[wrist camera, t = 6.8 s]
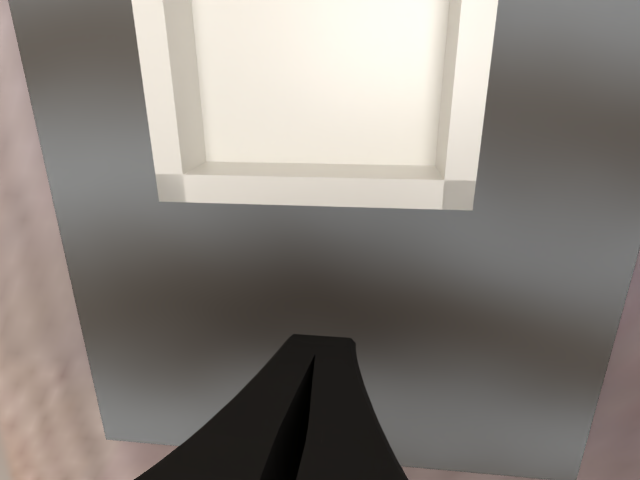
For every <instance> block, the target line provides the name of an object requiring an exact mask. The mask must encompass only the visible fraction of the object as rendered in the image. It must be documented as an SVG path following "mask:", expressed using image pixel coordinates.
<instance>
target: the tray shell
mask: <svg viewBox="0 0 640 480" xmlns="http://www.w3.org/2000/svg"><path fill="white" fill-rule="evenodd" d="M131 1H132V8H133V16H134V23H135V30H136V37H137V45H138V52H139V59H140V67H141V74H142V81H143V88H144V96H145V103H146V110H147V117H148V125H149V132H150V139H151V147H152V154H153V161H154V168H155V176H156V183H157V190H158V198H159V202H190V203H225V204H261V205H296V206H332V207H367V208H402V209H438V210H473V202H474V194H475V186H476V178H477V170H478V162H479V154H480V145H481V137H482V129H483V121H484V113H485V105H486V97H487V88H488V80H489V72H490V64H491V56H492V48H493V40H494V32H495V23H496V15H497V7H498V0H131Z"/></svg>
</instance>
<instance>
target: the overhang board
mask: <svg viewBox="0 0 640 480" xmlns="http://www.w3.org/2000/svg"><path fill="white" fill-rule="evenodd" d="M8 2H9V6H10V11H11V15H12V20H13V24H14V28H15V33H16V37H17V42H18V46H19V51H20V55H21V60H22V64H23V69H24V73H25V78H26V82H27V87H28V91H29V96H30V100H31V105H32V109H33V114H34V118H35V123H36V127H37V132H38V136H39V141H40V145H41V150H42V154H43V158H44V163H45V167H46V172H47V176H48V181H49V185H50V190H51V194H52V199H53V203H54V208H55V212H56V217H57V221H58V226H59V230H60V235H61V239H62V244H63V248H64V253H65V257H66V262H67V266H68V271H69V275H70V280H71V284H72V289H73V293H74V297H75V302H76V306H77V311H78V315H79V320H80V324H81V329H82V333H83V338H84V342H85V347H86V351H87V356H88V360H89V365H90V369H91V374H92V378H93V383H94V387H95V392H96V396H97V401H98V405H99V410H100V414H101V419H102V423H103V427H104V432H105V436H106V439H107V440H118V441H129V442H140V443H151V444H162V445H173V446H180V445H181V444H182V443H184V442H185V441H186V440H187V439H188V438H190V437H191V436H192V435H193V434H194V433H195V432H197V431H198V430H199V429H200V428H201V427H202V426H204V425H205V424H206V423H207V422H208V421H209V420H210V419H211V418H212V417H213V416H214V415H216V414H217V413H218V412H219V411H220V410H221V409H222V408H223V407H224V406H225V405H226V404H227V403H228V402H230V401H231V400H232V399H233V398H234V397H235V396H236V395H237V394H238V393H239V392H240V391H241V390H242V389H243V388H244V387H245V386H246V385H247V383H248V382H249V381H250V380H251V379H252V378H253V377H254V376H255V375H256V374H257V373H258V372H259V371H260V370H261V369H262V368H263V367H264V365H265V364H266V363H267V362H268V361H269V360H270V359H271V358H272V356H273V355H274V354H275V353H276V352H277V351H278V350H279V348H280V347H281V346H282V345H283V344H284V342H285V341H286V340H287V339H288V338H289V337H290V336H291V335H293V334H302V335H317V336H332V337H347V338H352V339H353V341H354V342H355V343H356V355H357V360H358V364H359V368H360V372H361V375H362V379H363V382H364V385H365V388H366V391H367V393H368V396H369V398H370V401H371V404H372V406H373V409H374V411H375V414H376V416H377V418H378V421H379V423H380V425H381V428H382V430H383V432H384V434H385V436H386V438H387V440H388V442H389V444H390V447H391V448H392V450H393V452H394V454H395V456H396V458H397V460H398V462H399V464H400V466H405V467H416V468H427V469H438V470H449V471H460V472H471V473H482V474H493V475H504V476H515V477H526V478H537V479H548V480H576V479H577V476H578V472H579V468H580V465H581V461H582V457H583V454H584V450H585V446H586V443H587V439H588V435H589V432H590V428H591V424H592V421H593V417H594V413H595V410H596V406H597V402H598V399H599V395H600V391H601V388H602V384H603V381H604V377H605V373H606V370H607V366H608V362H609V359H610V355H611V351H612V348H613V344H614V340H615V337H616V333H617V329H618V326H619V322H620V318H621V315H622V311H623V307H624V304H625V300H626V296H627V293H628V289H629V285H630V282H631V278H632V274H633V271H634V267H635V263H636V260H637V256H638V253H639V249H640V0H498V7H497V15H496V23H495V32H494V40H493V48H492V56H491V64H490V72H489V80H488V88H487V97H486V105H485V113H484V121H483V129H482V137H481V145H480V154H479V162H478V170H477V178H476V186H475V194H474V202H473V210H438V209H402V208H367V207H332V206H296V205H261V204H225V203H190V202H159V198H158V190H157V183H156V176H155V168H154V161H153V154H152V147H151V139H150V132H149V125H148V117H147V110H146V103H145V96H144V88H143V81H142V74H141V67H140V59H139V52H138V45H137V37H136V30H135V23H134V16H133V8H132V1H131V0H8Z"/></svg>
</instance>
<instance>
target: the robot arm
mask: <svg viewBox="0 0 640 480" xmlns="http://www.w3.org/2000/svg"><path fill="white" fill-rule="evenodd" d="M134 480H408V478H407V477H406V475H405V473H404V471H403V470H402V468H401V466H400V464H399V462H398V460H397V458H396V456H395V454H394V452H393V450H392V448H391V447H390V444H389V442H388V440H387V438H386V436H385V434H384V432H383V430H382V428H381V425H380V423H379V421H378V418H377V416H376V414H375V411H374V409H373V406H372V404H371V401H370V398H369V396H368V393H367V391H366V388H365V385H364V382H363V379H362V375H361V372H360V368H359V364H358V360H357V355H356V343H355V342H354V341H353V339H352V338H347V337H332V336H317V335H302V334H293V335H291V336H290V337H289V338H288V339H287V340H286V341H285V342H284V344H283V345H282V346H281V347H280V348H279V350H278V351H277V352H276V353H275V354H274V355H273V356H272V358H271V359H270V360H269V361H268V362H267V363H266V364H265V365H264V367H263V368H262V369H261V370H260V371H259V372H258V373H257V374H256V375H255V376H254V377H253V378H252V379H251V380H250V381H249V382H248V383H247V385H246V386H245V387H244V388H243V389H242V390H241V391H240V392H239V393H238V394H237V395H236V396H235V397H234V398H233V399H232V400H231V401H230V402H228V403H227V404H226V405H225V406H224V407H223V408H222V409H221V410H220V411H219V412H218V413H217V414H216V415H214V416H213V417H212V418H211V419H210V420H209V421H208V422H207V423H206V424H205V425H204V426H202V427H201V428H200V429H199V430H198V431H197V432H195V433H194V434H193V435H192V436H191V437H190V438H188V439H187V440H186V441H185V442H184V443H182V444H181V445H180V446H179V447H177V448H176V449H175V450H174V451H172V452H171V453H170V454H168V455H167V456H166V457H165V458H163V459H162V460H161V461H160V462H158V463H157V464H156V465H154V466H153V467H151V468H150V469H149V470H147V471H146V472H144V473H143V474H142V475H140V476H139V477H137V478H136V479H134Z"/></svg>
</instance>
